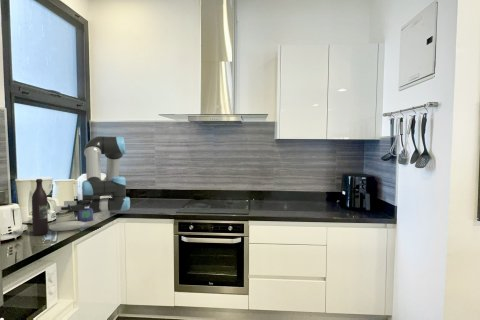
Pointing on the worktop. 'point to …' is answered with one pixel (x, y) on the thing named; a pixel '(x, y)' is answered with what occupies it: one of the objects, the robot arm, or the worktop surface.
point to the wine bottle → (39, 210)
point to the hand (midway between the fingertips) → (59, 205)
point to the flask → (85, 215)
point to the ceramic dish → (66, 226)
